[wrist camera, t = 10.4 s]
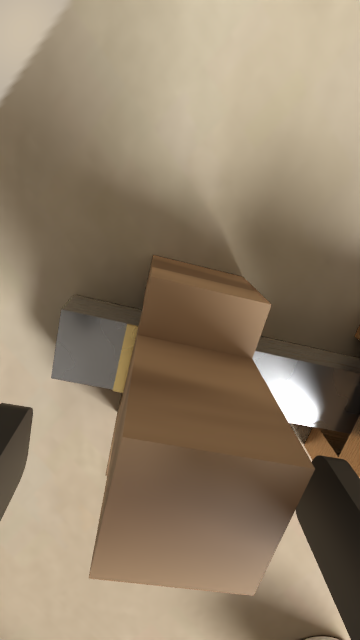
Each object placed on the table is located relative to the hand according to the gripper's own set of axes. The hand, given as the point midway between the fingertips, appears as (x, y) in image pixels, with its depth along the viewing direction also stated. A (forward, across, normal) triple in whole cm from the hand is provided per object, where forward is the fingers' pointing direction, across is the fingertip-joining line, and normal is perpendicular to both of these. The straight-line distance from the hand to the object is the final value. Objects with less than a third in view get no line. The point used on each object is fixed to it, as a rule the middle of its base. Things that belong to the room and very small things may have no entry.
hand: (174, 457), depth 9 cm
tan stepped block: (+7, 0, 0) cm, 7 cm away
